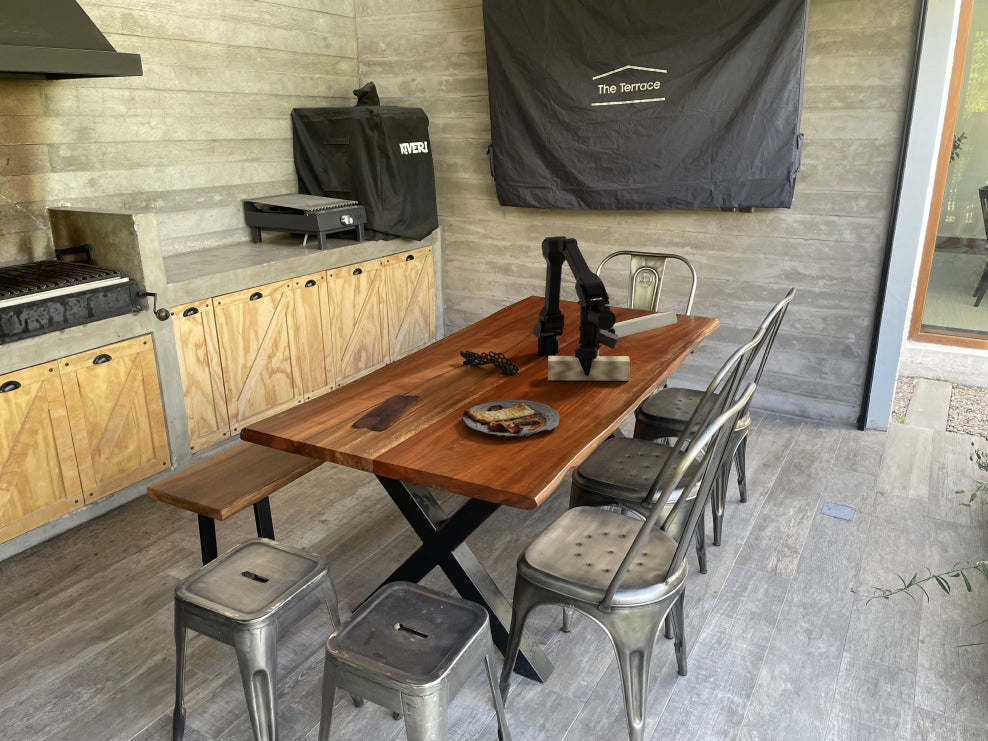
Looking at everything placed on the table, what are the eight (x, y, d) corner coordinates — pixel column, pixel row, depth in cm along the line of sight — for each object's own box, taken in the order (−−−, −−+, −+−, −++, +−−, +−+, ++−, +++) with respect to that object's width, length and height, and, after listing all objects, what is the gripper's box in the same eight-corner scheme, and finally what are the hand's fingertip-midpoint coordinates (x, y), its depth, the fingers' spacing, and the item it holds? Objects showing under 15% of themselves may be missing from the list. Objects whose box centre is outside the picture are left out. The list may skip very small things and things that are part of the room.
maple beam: (548, 380, 223) (548, 360, 222) (548, 374, 228) (548, 355, 226) (629, 380, 222) (630, 361, 220) (627, 375, 227) (628, 356, 225)
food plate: (483, 447, 179) (483, 434, 177) (449, 416, 199) (449, 403, 198) (575, 432, 188) (575, 419, 187) (533, 403, 209) (533, 391, 208)
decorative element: (521, 374, 231) (521, 356, 230) (511, 378, 228) (511, 359, 226) (466, 361, 245) (466, 344, 243) (456, 365, 241) (455, 347, 239)
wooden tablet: (393, 390, 216) (424, 389, 212) (394, 398, 216) (426, 397, 213) (348, 425, 192) (383, 425, 188) (350, 433, 192) (384, 433, 189)
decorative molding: (595, 341, 274) (615, 339, 266) (593, 328, 274) (613, 326, 266) (657, 325, 294) (677, 323, 286) (655, 313, 294) (675, 311, 285)
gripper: (615, 331, 209) (613, 384, 214) (619, 315, 226) (617, 364, 231) (575, 329, 212) (574, 382, 217) (582, 314, 229) (581, 362, 234)
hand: (588, 372), depth 224 cm, fingers closed on maple beam, 5 cm apart
